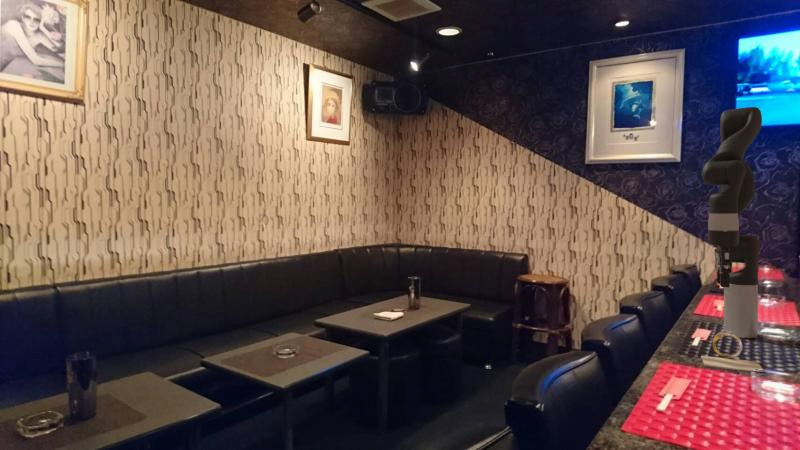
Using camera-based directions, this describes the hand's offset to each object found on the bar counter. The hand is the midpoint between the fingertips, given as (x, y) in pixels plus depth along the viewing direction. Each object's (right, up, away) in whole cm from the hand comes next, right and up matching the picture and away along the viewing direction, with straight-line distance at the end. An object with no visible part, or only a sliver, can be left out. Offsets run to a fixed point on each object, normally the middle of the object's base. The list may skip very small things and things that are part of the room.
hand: (723, 285), depth 143 cm
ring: (-3, -20, -7) cm, 21 cm away
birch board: (-6, -20, -12) cm, 24 cm away
